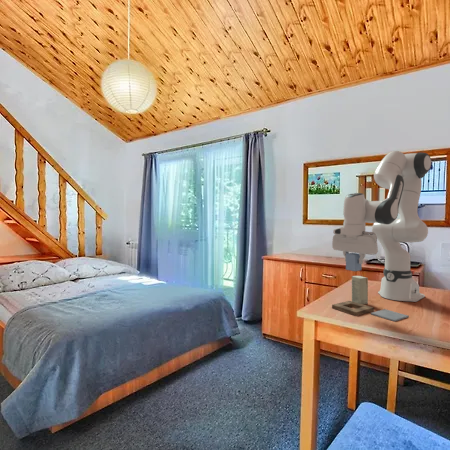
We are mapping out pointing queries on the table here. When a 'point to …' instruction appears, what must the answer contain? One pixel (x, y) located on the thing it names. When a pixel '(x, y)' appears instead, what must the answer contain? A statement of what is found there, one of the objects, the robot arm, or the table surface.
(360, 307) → the walnut stand
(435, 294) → the table surface
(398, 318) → the ceramic pad
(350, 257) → the blue block
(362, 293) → the skincare box
